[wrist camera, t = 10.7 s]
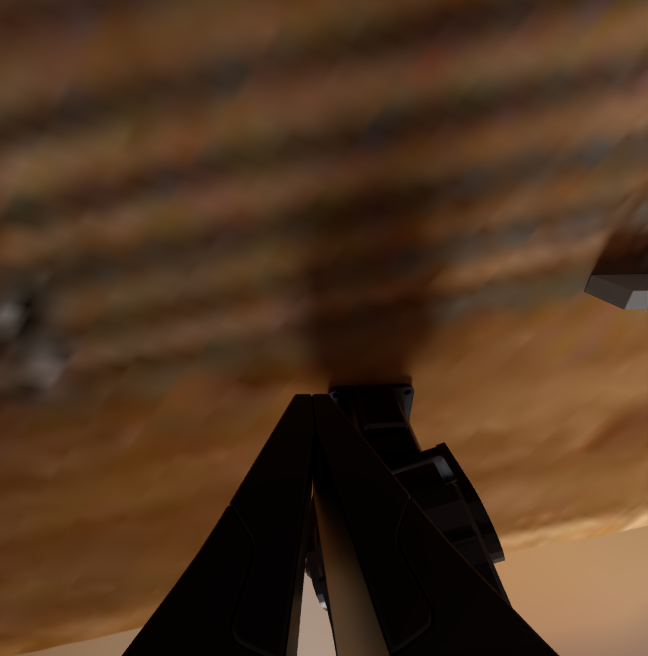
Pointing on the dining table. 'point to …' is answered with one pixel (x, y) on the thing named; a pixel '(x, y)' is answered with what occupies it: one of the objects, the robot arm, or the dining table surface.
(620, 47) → the dining table surface
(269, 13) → the dining table surface
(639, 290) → the grey frame
